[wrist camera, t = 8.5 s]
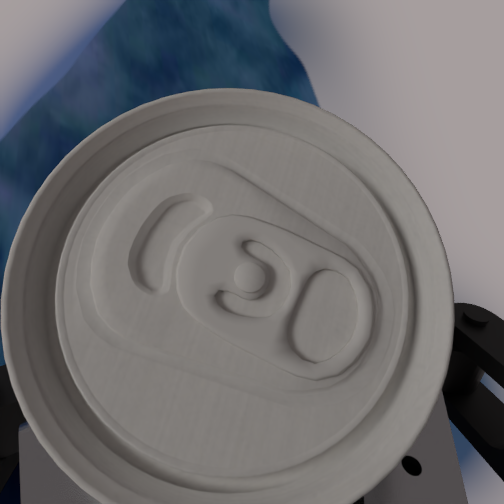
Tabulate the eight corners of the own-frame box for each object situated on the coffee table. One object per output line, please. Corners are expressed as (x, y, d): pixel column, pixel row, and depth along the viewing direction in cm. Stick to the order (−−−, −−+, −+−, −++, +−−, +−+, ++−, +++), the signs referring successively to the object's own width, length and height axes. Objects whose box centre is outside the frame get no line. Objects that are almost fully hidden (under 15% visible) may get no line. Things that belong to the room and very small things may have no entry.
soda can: (204, 256, 19) (148, 2, 5) (294, 300, 19) (528, 178, 4) (152, 350, 17) (-189, 412, 3) (250, 400, 17) (402, 730, 3)
